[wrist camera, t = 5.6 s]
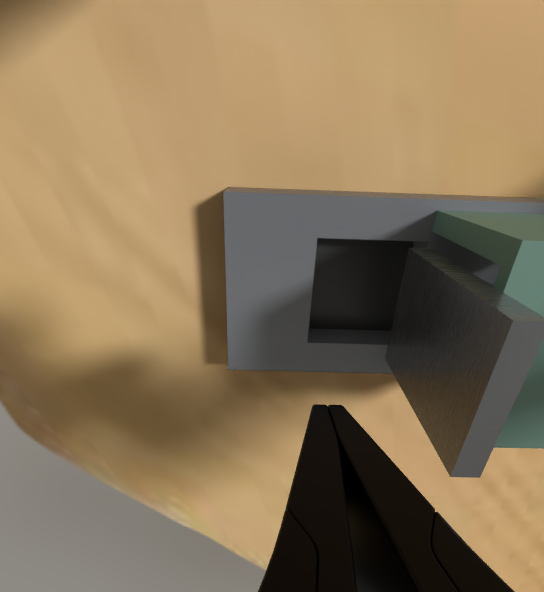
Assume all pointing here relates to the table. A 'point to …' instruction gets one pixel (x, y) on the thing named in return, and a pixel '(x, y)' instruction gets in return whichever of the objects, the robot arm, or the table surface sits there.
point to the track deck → (331, 271)
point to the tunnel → (517, 284)
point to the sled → (459, 356)
